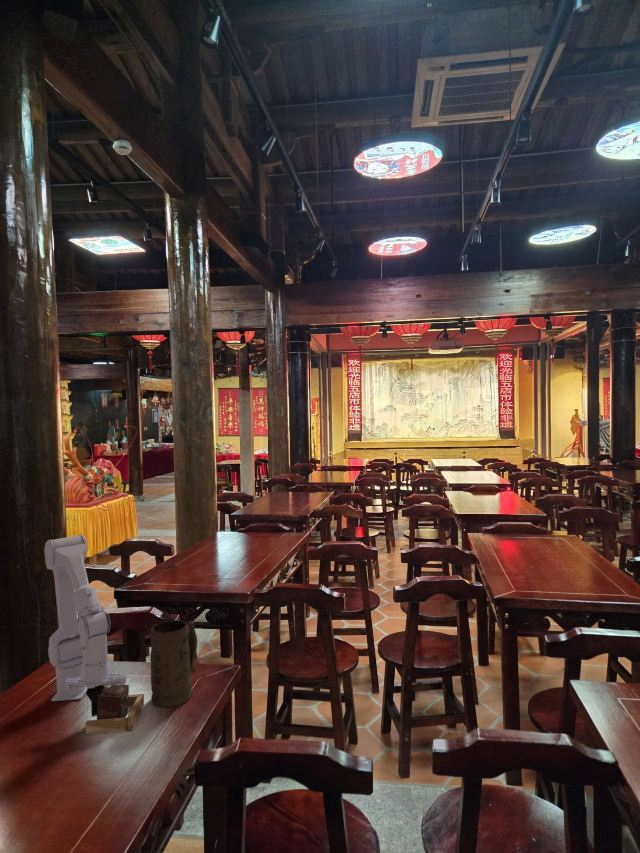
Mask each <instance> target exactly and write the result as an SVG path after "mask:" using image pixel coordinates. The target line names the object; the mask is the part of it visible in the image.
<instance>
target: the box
mask: <svg viewBox="0 0 640 853" xmlns="http://www.w3.org/2000/svg"><path fill="white" fill-rule="evenodd" d="M129 687H130V685H129V684H125V685H120V684H117V685H105V687H104V689H102V691H101V692H100V694H99V695H98V699H97V716H96V720H100V719H113V718H126V717H127V716H128V714H129V708H128V702H129V695H130V690H129Z"/></svg>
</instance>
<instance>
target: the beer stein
mask: <svg viewBox="0 0 640 853" xmlns="http://www.w3.org/2000/svg"><path fill="white" fill-rule="evenodd" d="M149 633H150V634H149V636H150V684H151V686H150V687H151V692H152V694H151V703H152V704H153V705H154V706H156V707H161V708H171V707H176V706H179V705H183V704H184V703H185V702H187V701H189V700H190V699H191V697H193V696H192V695H193V690H192V686H191V685H192V674H195V673H196V672H197V668H196V666H195V664H194V663H195V658H196V653H197V648H198V637H197V631H196V629H195V621H192V620H191V621H188V622H185V621H183V620H180V619H179V620H176V619H175V620H166V621H162V622H159V623H157V624H154V625H152V627H151V629H150V632H149Z"/></svg>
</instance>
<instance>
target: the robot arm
mask: <svg viewBox="0 0 640 853" xmlns="http://www.w3.org/2000/svg"><path fill="white" fill-rule="evenodd" d="M44 544H45V545H44V549H43V550H44V560H45V566H46V569H47V570H52V574H53V578H54V589H55V598H56V599H55V600H56V608H57V621H58V622H57V623H58V628H57V629H56V630H55V632H54V633H52V635H51V636H50V637H49V638H48V649H47V651H48V658H49V660H48V661H49V662H50V664H51V665H52V666H53V667H55V674H56V675H55V676H56V677H55V678H56V691H57V692H56V693H55V694H54V696H52V698H51V699H50V700H51V702H59V701H60V702H61V701H74V700H81V699H82V698H83V697H84V695H85V694H86V696H87V697H88V699H89V700H90V704H91V717H97V699H98V695H99V694H100V692H101V691H102V689H104V687H105V686H106V685H126V683H127V681H128V679H127V674H125V673H124V674H121V673H112V672H111V673H110V672H109V665H108V664H109V663H108V662H109V660H108V639H107V638H108V635H107V633H109V632H110V631H111V630H110V629H111V618H110V615H109V612H108V610H106V609H105V607H104V606H102V605H101V602H100V598H99V596H98V593H97V591H96V588H95V587H94V586H91V585H90V583H89V579H88V574H87V570H86V565H85V560H86V558H87V553H88V542H87V538H86V537H85V536H84V535H83V534H79V535H73V536H68V537H67V536H66V537H61V538H55V539H48V540H47V541H46V542H45V543H44Z"/></svg>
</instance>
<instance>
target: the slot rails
mask: <svg viewBox="0 0 640 853" xmlns="http://www.w3.org/2000/svg"><path fill="white" fill-rule="evenodd" d="M144 705H145V694H144V693H139V694H137V693H136V694H134V693H133V694H129V702H128V709H130V710H129V712H128V714H127V715H126V717H125V718H113V719H100V720H97V719H87V720H86V722H85V735H86V734H89V735H98V734H97V733H102V734H110V733H111V732H113V734H114V732H115V733H126V732H132V731H133V728H134V726H135V725H136V722H137V719H138V718H139V715H140V714H141V712H142V710H143V708H144Z"/></svg>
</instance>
